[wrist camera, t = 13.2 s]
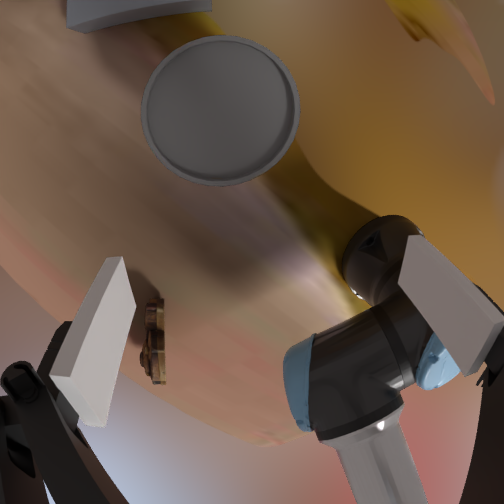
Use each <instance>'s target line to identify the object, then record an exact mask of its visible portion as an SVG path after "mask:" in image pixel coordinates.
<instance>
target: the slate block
mask: <svg viewBox="0 0 504 504" xmlns="http://www.w3.org/2000/svg"><path fill="white" fill-rule="evenodd" d="M200 11H203V12H210V11H211V12H212V1H211V0H67V24H66V28H69V29H72V30H75V31H78V32H82V33H88V32H92V31H95V30H99V29H103V28H107V27H111V26H115V25H119V24H123V23H128V22H132V21H137V20H143V19H148V18H154V17H160V16H166V15H173V14H181V13H190V12H200Z"/></svg>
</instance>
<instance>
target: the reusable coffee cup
mask: <svg viewBox="0 0 504 504" xmlns="http://www.w3.org/2000/svg"><path fill="white" fill-rule="evenodd" d="M299 118H300V99H299V94H298V90H297V87H296V84H295V81H294V79H293V77H292V75H291V73H290V71H289V70H288V68H287V67H286V66H285V65H284V63H283V62H282V61H281V60H280V59H279V57H277V56H276V55H275V54H274V53H272V52H271V51H270V50H268V49H267V48H266V47H264V46H262V45H260V44H258V43H256V42H254V41H252V40H249V39H245V38H241V37H237V36H227V35H216V36H209V37H203V38H200V39H197V40H194V41H191V42H188V43H186V44H184V45H182V46H181V47H179V48H177V49H176V50H174V51H173V52H171V53H170V54H169V55H168V56H167V57H166V58H165V59H163V60H162V61H161V63H160V64H159V65H158V66H157V68H156V69H155V70H154V72H153V73H152V75H151V77H150V79H149V81H148V83H147V85H146V87H145V90H144V94H143V98H142V102H141V121H142V127H143V132H144V135H145V137H146V140H147V142H148V145H149V147H150V148H151V150H152V151H153V153H154V154H155V156H156V157H157V159H158V160H159V161H160V162H161V163H162V164H163V165H164V166H165V167H166V168H167V169H169V170H170V171H172V172H173V173H175V174H176V175H178V176H179V177H181V178H184V179H186V180H188V181H191V182H193V183H197V184H202V185H206V186H229V185H237V184H240V183H243V182H246V181H249V180H252V179H254V178H256V177H258V176H260V175H262V174H263V173H265V172H266V171H268V170H269V169H270V168H271V167H273V166H274V165H275V164H277V162H278V161H279V160H280V159H281V158H282V157H283V155H284V154H285V153H286V152H287V150H288V148H289V147H290V145H291V143H292V142H293V140H294V137H295V134H296V131H297V128H298V125H299Z"/></svg>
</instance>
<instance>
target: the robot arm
mask: <svg viewBox="0 0 504 504" xmlns="http://www.w3.org/2000/svg"><path fill="white" fill-rule="evenodd" d="M342 272H343V276H344V279H345V281H346V283H347V284H348V286H349V288H350V289H351V291H352V292H353V293H354V294H355V295H356V296H358V297H359V298H361V299H363V300H365V301H366V302H367V303H368V304H370V305H371V306H372V307H371V308H370V309H367V310H365V311H363V312H361V313H359V314H357V315H356V316H354V317H352V318H350V319H348V320H346V321H344V322H342V323H340V324H338V325H336V326H333V327H331V328H329V329H327V330H325V331H323V332H320V333H318V334H317V333H314V334H312V335H311V337H309V338H307V339H305V340H303V341H301V342H300V343H298V344H296V345H294V346H292V347H291V348H289V350H288V351H287V352H286V354H285V357H284V361H283V378H284V386H285V391H286V396H287V400H288V403H289V407H290V410H291V413H292V415H293V417H294V419H295V420H296V423H297V426H298V427H299V428H300V429H301V430H302V431H304V432H306V431H308V432H311V431H313V430H314V431H315V433H316V435H317V438H318V440H319V442H320V443H322V444H325V445H328V446H331V447H333V448H334V449H336V452H337V454H338V457H339V459H340V462H341V464H342V467H343V469H344V472H345V474H346V477H347V480H348V482H349V485H350V487H351V490H352V492H353V495H354V497H355V500H356V502H357V504H428V501H427V498H426V495H425V492H424V489H423V486H422V483H421V481H420V478H419V475H418V472H417V470H416V466H415V464H414V461H413V458H412V455H411V453H410V450H409V447H408V445H407V442H406V439H405V437H404V434H403V432H402V429H401V427H400V424H399V416H400V414H401V412H402V409H403V407H404V405H405V404H404V402H403V399H402V397H401V394H400V391H401V390H403V389H405V388H406V387H408V386H410V385H412V384H414V383H417V385H418V386H419V387H421V388H422V389H424V390H432V389H433V388H438V387H440V386H442V385H444V384H445V383H447V382H448V381H450V380H451V379H452V378H454V377H455V376H456V375H457V374H458V373H459V372H460V371H461V372H462V373H463V375H464V377H466V376H468V375H471V374H473V373H475V372H477V371H478V370H479V368H480V367H481V365H482V363H483V362H485V363H486V364H487V367H486V369H485V371H484V372H483V374H482V375H481V377H480V378H479V380H478V381H477V384H476V385H477V386H478V385H479V384H480V382H481V381H482V380H483V384H482V386H481V387H483V392H482V400H481V408H480V415H479V422H478V429H477V434H476V440H475V445H474V450H473V455H472V459H471V463H470V467H469V471H468V475H467V479H466V483H465V486H464V489H463V493H462V496H461V499H460V503H459V504H504V312H503V311H502V310H501V309H500V307H499V306H498V305H497V304H496V303H495V302H493V300H492V299H491V298H490V297H488V295H487V294H486V293H485V292H484V291H483V290H482V289H481V288H480V287H479V286H477V285H475V284H474V283H472V282H471V281H470V280H469V279H468V278H467V277H466V276H465V275H464V274H463V273H462V272H461V271H460V270H459V269H458V268H457V267H456V266H454V265H453V264H452V263H451V262H450V261H449V260H448V259H447V258H446V257H445V256H444V255H443V254H442V253H441V252H440V251H438V250H437V249H436V248H435V247H434V246H433V245H432V244H431V243H429V242H428V241H427V240H426V239H425V237H424V235H423V233H422V231H421V230H420V229H419V228H418V227H417V226H416V225H415V224H414V223H413V222H411V221H410V220H409V219H407V218H405V217H403V216H399V215H387V216H382V217H379V218H377V219H375V220H373V221H371V222H369V223H368V224H366V225H365V226H363V227H362V228H361V229H360V230H359V231H358V232H357V233H356V234H355V235H354V237H353V238H352V239H351V241H350V242H349V244H348V246H347V248H346V250H345V253H344V256H343V261H342ZM135 309H136V304H135V300H134V297H133V294H132V290H131V287H130V283H129V280H128V276H127V272H126V268H125V265H124V261H123V257H122V256H120V257H107V258H106V260H105V261H104V263H103V265H102V267H101V268H100V270H99V272H98V274H97V276H96V278H95V279H94V281H93V283H92V285H91V287H90V289H89V291H88V292H87V294H86V296H85V298H84V300H83V302H82V304H81V306H80V308H79V310H78V312H77V314H76V316H75V318H74V320H73V321H65V322H64V323H63V324H62V325H61V326H60V327H59V328H58V329H57V330H56V332H55V334H54V336H53V338H52V340H51V342H50V344H49V346H48V348H47V349H48V350H46V352H45V354H44V356H43V359H42V361H41V363H40V365H39V367H38V370H37V372H36V371H35V370H34V368H33V367H32V365H31V364H30V363H28V362H26V361H18V362H15V363H13V364H11V365H10V366H9V367H7V369H6V370H5V371H4V372H3V374H2V376H1V379H0V380H1V381H0V382H1V384H0V385H1V387H2V388H3V389H4V390H5V392H6V393H7V394H8V395H7V396H0V504H49V501H48V498H47V493H46V489H45V485H44V482H45V484H46V486H47V488H48V490H49V492H50V494H51V496H52V497H53V500H54V501H55V503H56V504H129V503H128V502H127V500H126V499H125V497H124V496H123V495H122V493H121V492H120V491H119V489H118V488H117V487H116V485H115V484H114V482H113V481H112V480H111V478H110V477H109V475H108V474H107V472H106V471H105V469H104V468H103V466H102V465H101V463H100V462H99V460H98V459H97V457H96V455H95V454H94V452H93V451H92V449H91V447H90V446H89V444H88V442H87V441H86V439H85V437H84V435H83V434H82V432H81V430H80V429H79V428H78V427H77V423H78V419H79V417H80V418H81V420H82V421H83V422H84V423H85V424H86V425H88V426H96V427H106V422H107V417H108V413H109V408H110V404H111V399H112V395H113V391H114V386H115V382H116V378H117V374H118V370H119V366H120V362H121V359H122V355H123V351H124V347H125V344H126V340H127V337H128V333H129V330H130V326H131V323H132V319H133V316H134V313H135ZM43 480H44V481H43Z"/></svg>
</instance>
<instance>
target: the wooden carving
mask: <svg viewBox="0 0 504 504" xmlns="http://www.w3.org/2000/svg"><path fill="white" fill-rule="evenodd" d="M145 329H146V340H145V342H144V344H143V348H142V352H141V353H140V364H141V366H142V367H144V369H145V372H146V375H147V376H150V377H151V380H152V382H153V384H161V385H166V366H165V332H164V299H163V298H162V299H150V301H149V303H147V305H146V309H145Z"/></svg>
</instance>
